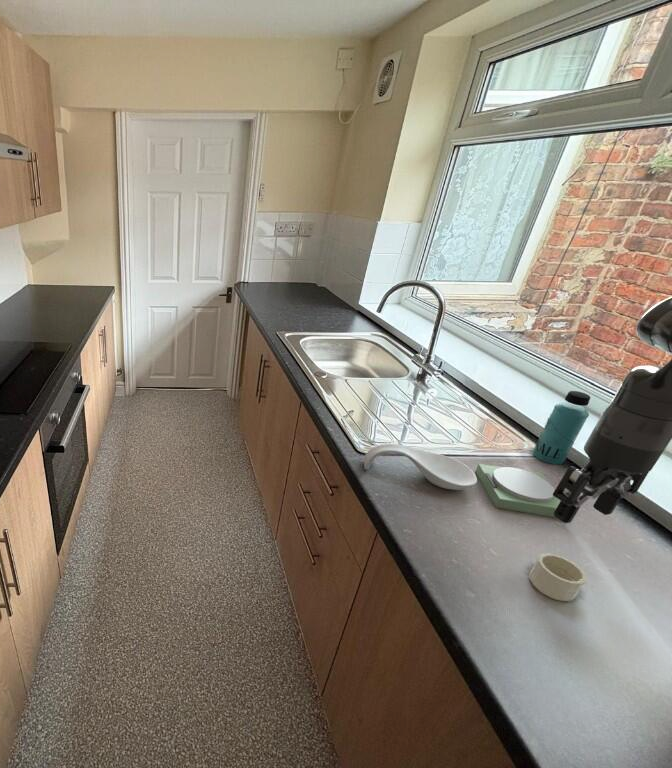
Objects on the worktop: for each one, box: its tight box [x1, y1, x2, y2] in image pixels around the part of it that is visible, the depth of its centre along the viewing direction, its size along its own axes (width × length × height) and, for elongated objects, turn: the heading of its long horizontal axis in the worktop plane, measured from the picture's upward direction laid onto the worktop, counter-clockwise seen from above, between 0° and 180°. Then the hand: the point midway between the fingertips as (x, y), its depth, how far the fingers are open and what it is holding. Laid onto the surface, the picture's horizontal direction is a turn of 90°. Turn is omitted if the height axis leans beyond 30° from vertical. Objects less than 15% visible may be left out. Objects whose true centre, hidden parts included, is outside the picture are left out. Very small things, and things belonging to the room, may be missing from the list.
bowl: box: [528, 553, 587, 602], centre depth 74 cm, size 6×6×5 cm
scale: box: [474, 463, 561, 519], centre depth 95 cm, size 13×13×4 cm
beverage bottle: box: [532, 390, 591, 465], centre depth 102 cm, size 6×7×20 cm
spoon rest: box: [363, 443, 478, 491], centre depth 101 cm, size 24×12×7 cm, turn 70°
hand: (581, 515), depth 70 cm, fingers open, 8 cm apart
